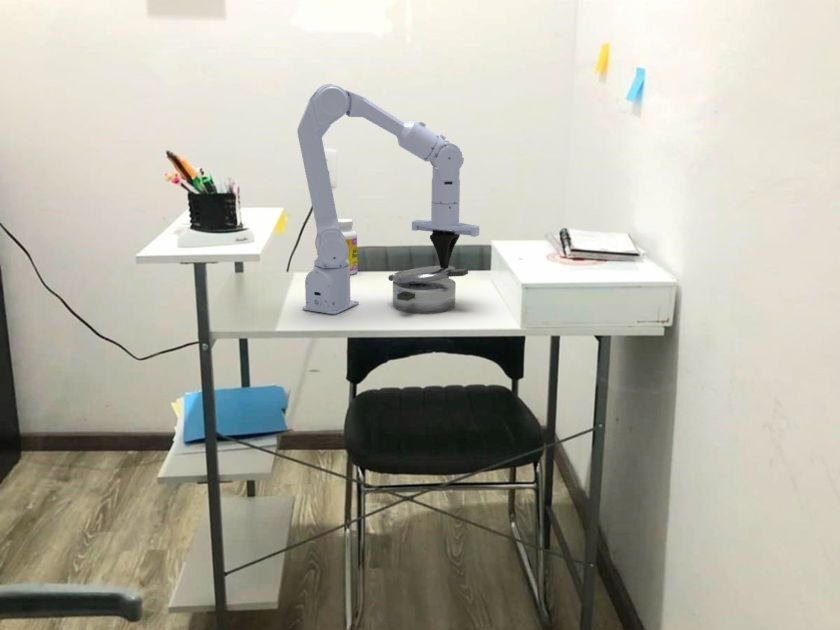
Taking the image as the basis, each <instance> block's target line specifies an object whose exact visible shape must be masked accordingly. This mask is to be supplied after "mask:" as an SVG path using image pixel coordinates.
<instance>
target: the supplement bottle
mask: <svg viewBox="0 0 840 630" xmlns="http://www.w3.org/2000/svg"><path fill="white" fill-rule="evenodd" d="M338 223H339V227H340V231H341V232H342V234H343V235H344V237H345V241H346V243H347V245H348V248H349V255H348V258H347V260H349V261H350V276H352V275H354V274H355V275H356V273H357V272H358V234H357V232H356V231H355V230H353V225H354V224H353V223H354V221H353V219H351V218H338Z"/></svg>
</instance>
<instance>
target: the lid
mask: <svg viewBox="0 0 840 630" xmlns="http://www.w3.org/2000/svg"><path fill="white" fill-rule="evenodd" d="M468 274H469V269H468V268H456V267H454V266H452V265H449V266H448V267H446V268H440V265H432V266H431V265H430V266H422V267H415V268H410V269H407V270H400V271H397V272H394V273H393V274H392V273H391V274H390V275H389V276H388V277H387V278H388V281H389V282H392V283H393V282H395V283H400V284H410V283H422V282H429V281H434V280H439V279H443V278H447V277H449V278H451V277H465V276H466V275H468Z"/></svg>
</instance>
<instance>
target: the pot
mask: <svg viewBox="0 0 840 630" xmlns="http://www.w3.org/2000/svg"><path fill="white" fill-rule="evenodd" d="M392 307H393V309H396V310H397V311H401V312H404V313H409V312H410V313H411V314H418V313H420V315H421V314H422V315H423V314H425V315H428V314H430V313H432V314H440V313H445V312H448V311H449V312H450V311H451V310H453V309H454V308H456V281H455V280H454V279H452V278H450V277H447V278H443V279H439V280H434V281H429V282H422V283H410V284H400V283H395V282H393V281H392ZM410 313H409V314H410Z"/></svg>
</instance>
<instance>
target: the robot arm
mask: <svg viewBox="0 0 840 630" xmlns="http://www.w3.org/2000/svg"><path fill="white" fill-rule="evenodd" d="M345 115H346V116H348V117H349V118H350V117H351V118H363V119H365V120H367V121H369V122H371V123H372V124H375V126H378V127H379V128H382V129H383V130H385V131H387V132H388V133H390V134H392V135H393V136H396V138H397V143H398V145H399V147H401V148H402V149H404V150H405V151H407V152H408V153H411V154H412V155H414V156H416V157H418V158H419V159H421V160H423V161H424V162H425V163H426V162H429V163H430V165H431V166H432V178H431V213H430V215H431V219H430V220H426V219H425V220H423V219H415V220H412V221H411V231H422V232H432V233H431V234H430V235H429V239H430V241H431V243H432V245H433V247H434V249H435V252H436V254H437V258H438V262H439V266H440V268H446V267H448V266H450V261H451V257H452V253H453V251H454V248H455V246H456V245H457V242H458V240H459V239H460V235H463V236H470V237H474V238H475V237H478V236H480V225H475V224H469V223H463V222H460V196H461V195H460V194H461V193H460V191H461V181H460V180H461V179H460V173H461V172H460V171H461V170H460V169H461V168H462V166H463V164H464V160H465V158H464V157H463V152H462V151H461V149H460V147H458V146H457V145H456V144H453V143H451V142H450V141H448V140H446V139H447V137H446V136H444V135H443V134H440V135H439V134H437V133H435V132H434V131H432V130H430V129H429V128H427V127H426V125H427V124H426V123H425V122H423V121H421V120H419V121H418V122H417V121H415V120H410V121H407V122H404V121H403V120H401V119H399V118H397V117H396V116H394V115H393V114H391V113H390V112H388V111H387V110H385V109H384V108H382V107H380V106H379V105H377V104H376V103H374V102H373V101H371V100H369V99H368V98H367V97H364V96H362V95H359V94H357V93H354V92H352V91H350V90H347V89H346V90H345V89H344V88H343V87H341V86H340V85H336V84H331V83H328V84H323V85H321V86H320V87H319V88H318V89H316V91H314V92H313V94H312V95H311V97H310V98H309V99H308V102H307V104H306V106H305V110H304V112H303V114H302V117H301V119H300V121H299V123H298V127H297V138H298V142H299V148H300V152H301V156H302V157H301V158H302V161H303V166H304V167H303V168H304V172H305V177H306V178H305V179H306V182H307V187H308V191H309V192H308V193H309V196H310V201H311V206H312V212H313V215H314V220H315V227H316V238H315V240H314V244H315V249H316V255H317V257H316V259H314V261H313V267H312V268H313V269H312V270H311V271H310V272H308V274H307V275H306V277H305V281H304V283H305V285H304V287H305V288H304V289H305V290H304V291H305V305H304V306H302V310H303V311H311V312H318V313H323V314H328V315H337V314H339V313H341V312H344V311H345V310H348V309H350V308H352V307H354V306H357V305H359V304H360V302H359V301H358V300H351V275H350V261H349V260H347V258H348V255H349V248H348V245H347V243H346V241H345V237H344V235H343V234H342V232H341V231H340V227H339V223H338V219H339V217H338V214H337V210H336V204H335V199H334V192H333V189H332V184H331V179H330V172H329V168H328V163H327V158H326V157H327V156H326V152H325V147H324V142H323V137H324V135H325V134H326V132H328V130H329V129H330V128H331V125H332V124H334V123H335V122H336V121H338V120H340V119H341V118H343V116H345Z"/></svg>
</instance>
